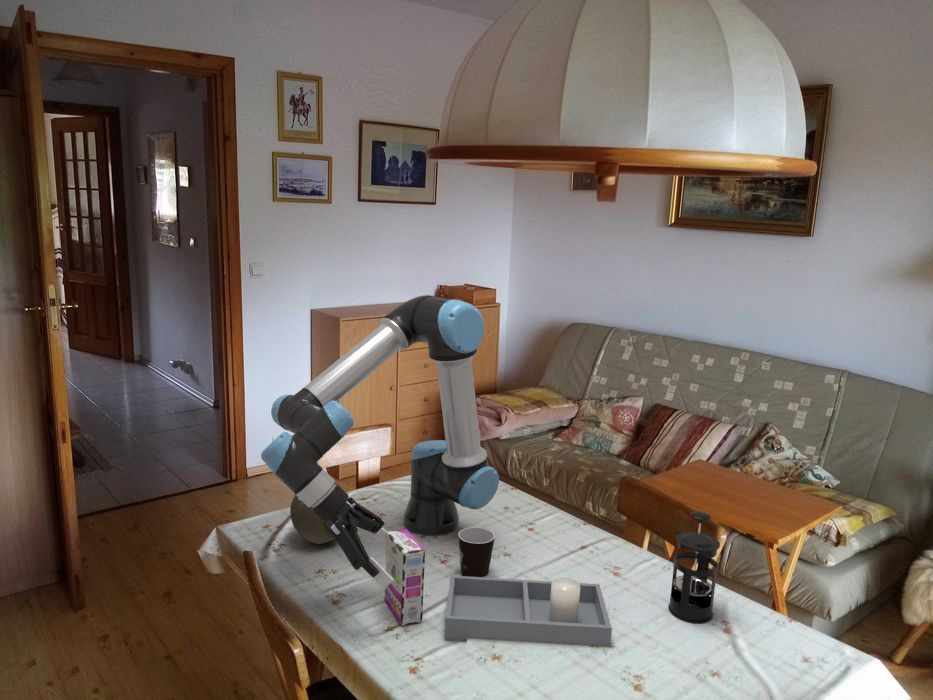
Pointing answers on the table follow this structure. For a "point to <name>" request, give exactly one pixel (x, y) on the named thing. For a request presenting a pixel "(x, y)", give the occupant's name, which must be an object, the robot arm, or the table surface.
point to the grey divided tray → (521, 612)
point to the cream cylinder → (564, 600)
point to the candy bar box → (405, 576)
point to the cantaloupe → (309, 523)
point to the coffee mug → (475, 551)
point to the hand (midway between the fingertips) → (393, 567)
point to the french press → (694, 575)
